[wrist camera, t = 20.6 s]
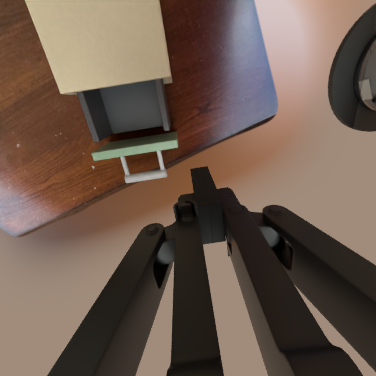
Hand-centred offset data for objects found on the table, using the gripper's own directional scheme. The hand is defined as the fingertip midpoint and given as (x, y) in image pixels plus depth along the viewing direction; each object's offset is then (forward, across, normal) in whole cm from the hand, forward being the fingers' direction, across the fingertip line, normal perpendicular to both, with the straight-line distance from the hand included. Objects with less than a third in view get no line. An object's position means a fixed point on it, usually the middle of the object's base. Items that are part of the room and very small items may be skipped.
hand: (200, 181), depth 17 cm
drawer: (+20, -8, +5) cm, 22 cm away
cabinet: (+21, -8, +18) cm, 29 cm away
